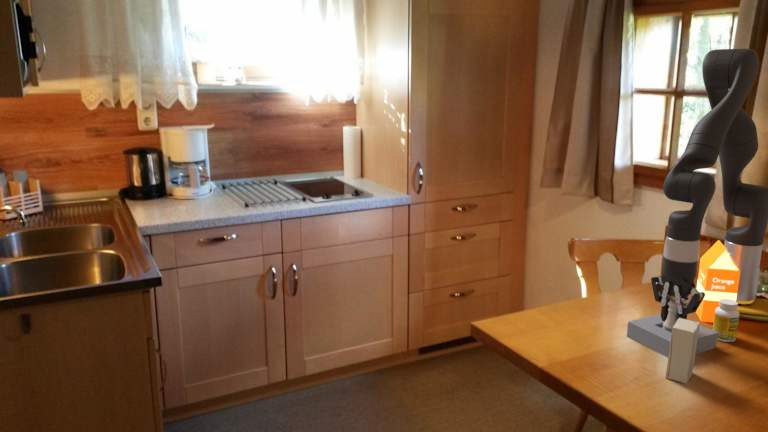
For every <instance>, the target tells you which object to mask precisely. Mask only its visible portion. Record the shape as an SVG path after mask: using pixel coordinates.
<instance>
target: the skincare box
mask: <svg viewBox="0 0 768 432" xmlns="http://www.w3.org/2000/svg"><path fill="white" fill-rule="evenodd" d="M700 322H701V321H700ZM700 322H699V321H694V320H690V319H688V318H687V319H683V318H678V320H677V321H676V322H675V324H674V326H673V328H672V335H671V342H670V349H669V356H668V357H667V364H666V371H665V378H666V379H669V380H672V381H676V382H679V383H681V384H682V383H683V384H685V385H686V384H687V383H688V382H689V380H690V378H691V377H692V374H693V371H694V364H695V356H696V354H695V352H696V345H697V339H698V332H699V325H701V323H700Z"/></svg>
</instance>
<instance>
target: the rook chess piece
mask: <svg viewBox="0 0 768 432" xmlns="http://www.w3.org/2000/svg"><path fill="white" fill-rule="evenodd" d="M667 304H668V305H669V308H668V311H669V312H668V316H667V319H666V320H665V322H663V327H662V329H664V330H667V331H669V332H671V333H672V328H673V326H674V324H675V322H676V318H677V313H678V307H677V304H676V300H675V297H674V298H673V299H670V301H669V302H668V303H667Z"/></svg>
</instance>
